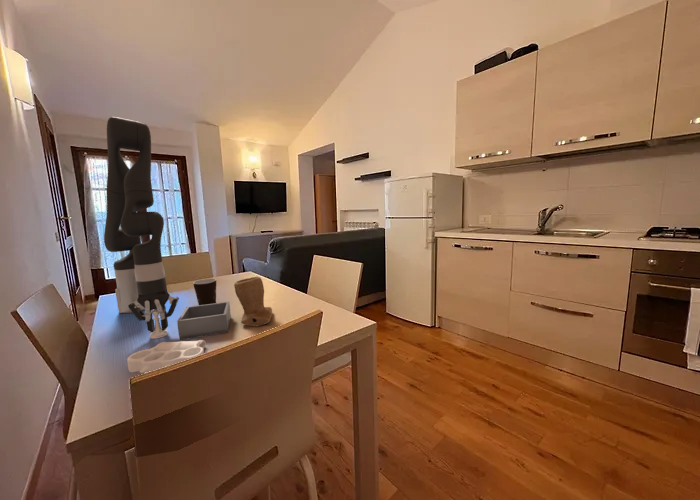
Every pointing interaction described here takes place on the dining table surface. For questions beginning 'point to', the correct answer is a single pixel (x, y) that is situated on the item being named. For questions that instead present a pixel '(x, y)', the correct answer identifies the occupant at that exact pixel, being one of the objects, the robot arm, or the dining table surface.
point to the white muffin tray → (164, 355)
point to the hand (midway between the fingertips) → (158, 330)
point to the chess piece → (157, 326)
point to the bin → (204, 320)
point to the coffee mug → (205, 291)
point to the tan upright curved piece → (252, 301)
